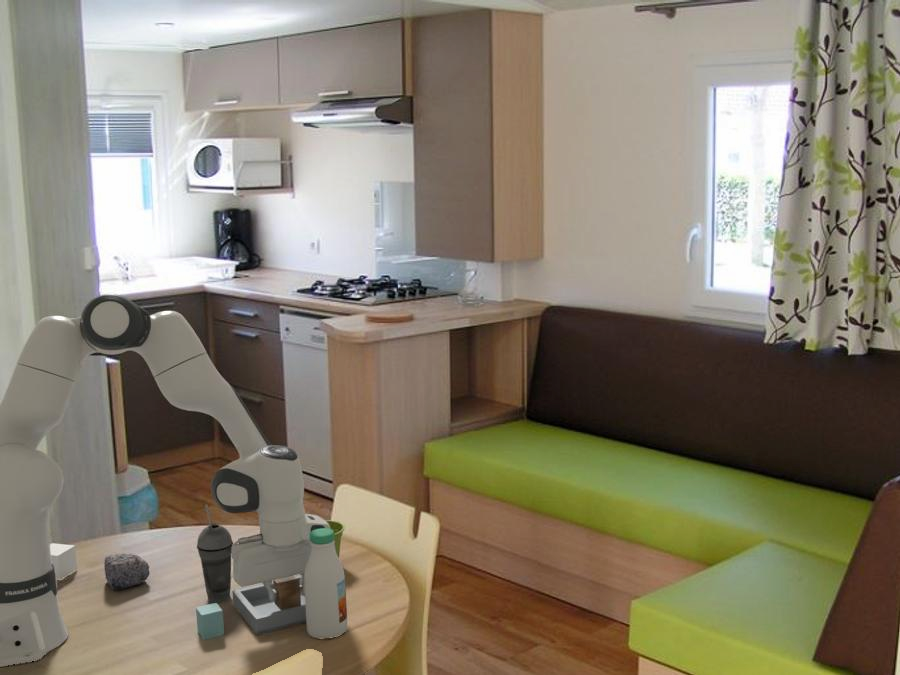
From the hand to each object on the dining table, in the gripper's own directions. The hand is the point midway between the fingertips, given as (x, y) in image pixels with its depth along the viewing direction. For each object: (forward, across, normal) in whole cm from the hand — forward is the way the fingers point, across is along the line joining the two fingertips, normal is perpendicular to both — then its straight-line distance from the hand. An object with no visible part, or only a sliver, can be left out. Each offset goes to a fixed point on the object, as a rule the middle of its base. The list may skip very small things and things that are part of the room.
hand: (287, 596), depth 212 cm
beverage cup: (+5, -9, +17) cm, 20 cm away
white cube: (+5, -36, +48) cm, 60 cm away
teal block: (+5, -15, +2) cm, 16 cm away
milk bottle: (+5, +4, -9) cm, 11 cm away
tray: (+5, 0, +4) cm, 6 cm away
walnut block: (+2, 0, 0) cm, 2 cm away
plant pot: (+5, +16, +21) cm, 27 cm away
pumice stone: (+5, -24, +34) cm, 42 cm away
